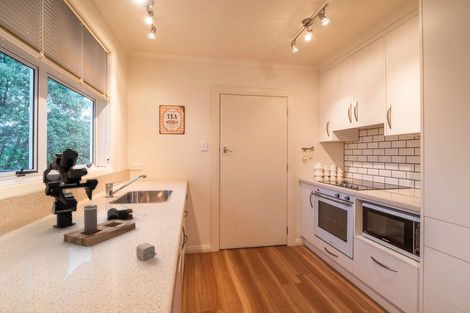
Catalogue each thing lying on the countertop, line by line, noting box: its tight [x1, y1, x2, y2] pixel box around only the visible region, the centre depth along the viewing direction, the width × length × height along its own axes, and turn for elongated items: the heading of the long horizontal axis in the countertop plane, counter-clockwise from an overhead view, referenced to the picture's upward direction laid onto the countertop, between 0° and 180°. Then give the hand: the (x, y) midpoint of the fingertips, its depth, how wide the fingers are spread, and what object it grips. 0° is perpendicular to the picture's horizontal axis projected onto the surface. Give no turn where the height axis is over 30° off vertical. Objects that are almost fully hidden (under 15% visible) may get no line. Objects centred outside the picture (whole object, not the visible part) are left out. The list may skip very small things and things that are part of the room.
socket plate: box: [63, 219, 136, 247], centre depth 95 cm, size 14×22×3 cm, turn 158°
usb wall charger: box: [135, 242, 157, 262], centre depth 73 cm, size 4×7×4 cm, turn 51°
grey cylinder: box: [83, 204, 98, 235], centre depth 90 cm, size 5×5×13 cm
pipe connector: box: [106, 207, 134, 221], centre depth 116 cm, size 12×5×15 cm
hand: (79, 201), depth 95 cm, fingers open, 9 cm apart
